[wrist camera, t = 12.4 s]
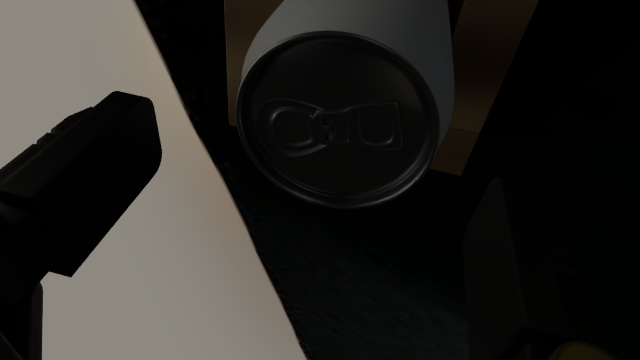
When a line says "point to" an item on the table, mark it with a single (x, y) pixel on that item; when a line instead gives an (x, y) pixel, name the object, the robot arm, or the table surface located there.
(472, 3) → the holder
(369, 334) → the table surface
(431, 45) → the can
